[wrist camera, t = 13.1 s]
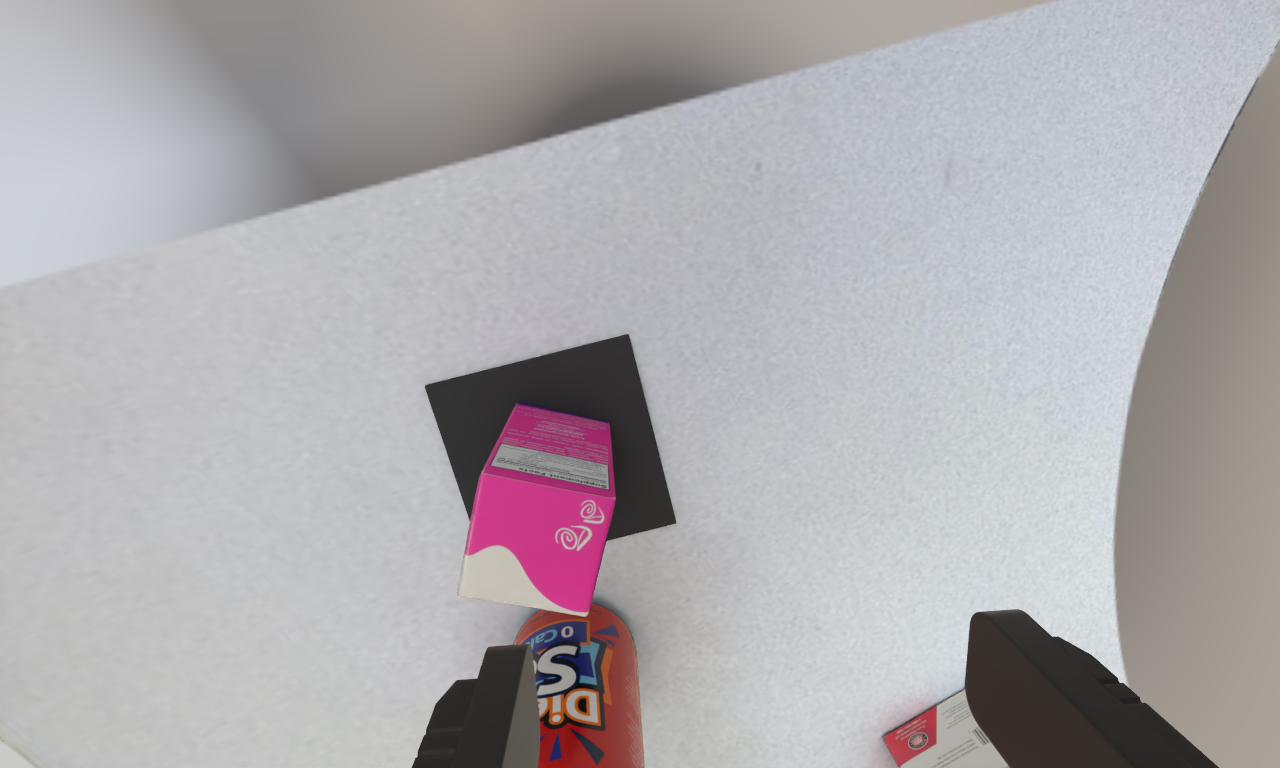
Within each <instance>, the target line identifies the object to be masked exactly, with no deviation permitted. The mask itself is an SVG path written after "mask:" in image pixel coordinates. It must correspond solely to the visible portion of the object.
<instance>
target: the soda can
mask: <svg viewBox="0 0 1280 768" xmlns="http://www.w3.org/2000/svg"><path fill="white" fill-rule="evenodd" d="M522 644H530V645H531V648H532V653H533V662H534V671H535V680H536V689H537V697H538V706H539V716H540V749H539V759H538V766H537V768H645V765H644V751H643V736H642V722H641V707H640V693H639V678H638V664H637V653H636V647H635V643H634V640H633V637H632V635H631V633H630V631H629V629H628V627H627V626H626V625H625V623H624V622H623V621H622V620H621V619H620V618H619V617H618V616H617V615H615V614H614V613H613V612H611V611H609V610H608V609H606V608H604V607H602V606H599V605H596V604H593V603H591V606H590V609H589V613H588V615H587V616H586V617H584V616H578V615H571V614H566V613H560V612H554V611H549V610H543V609H542V610H540V611H538V612H537V613H535V614H534V615H533V616H531V617H530V618H529V619H528V620H527V621H526V622H525V623H524V625H523V626H522V627H521V629H520V630H519V632H518V634H517V636H516V638H515V641H514V643H513V645H522Z"/></svg>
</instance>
